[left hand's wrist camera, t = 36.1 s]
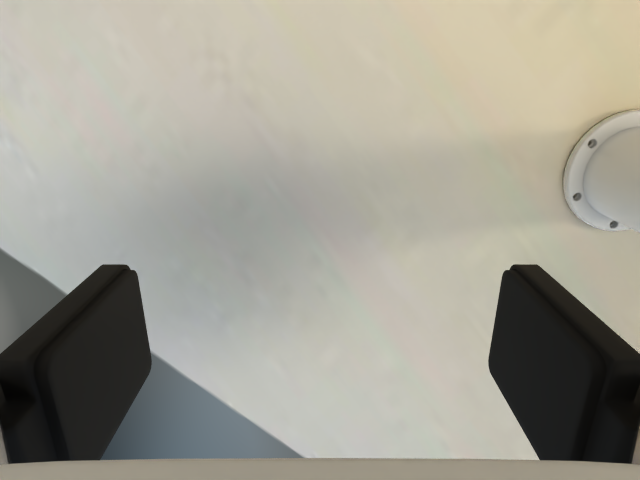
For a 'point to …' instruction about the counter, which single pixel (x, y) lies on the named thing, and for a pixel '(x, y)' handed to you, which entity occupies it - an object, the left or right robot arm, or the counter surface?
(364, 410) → the counter surface
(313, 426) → the counter surface
